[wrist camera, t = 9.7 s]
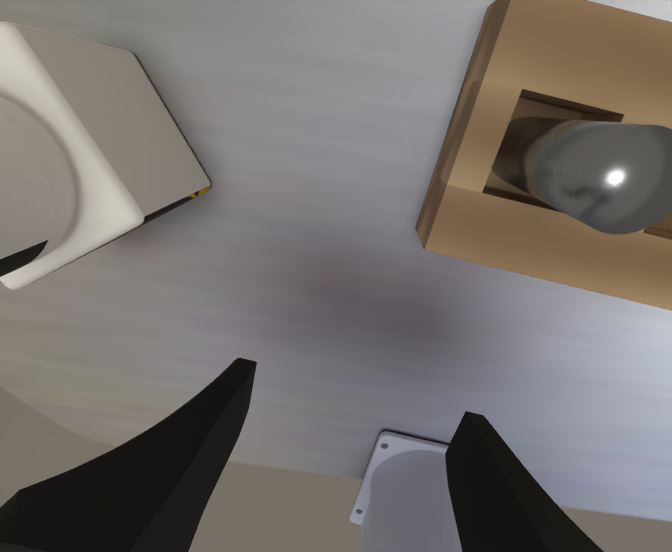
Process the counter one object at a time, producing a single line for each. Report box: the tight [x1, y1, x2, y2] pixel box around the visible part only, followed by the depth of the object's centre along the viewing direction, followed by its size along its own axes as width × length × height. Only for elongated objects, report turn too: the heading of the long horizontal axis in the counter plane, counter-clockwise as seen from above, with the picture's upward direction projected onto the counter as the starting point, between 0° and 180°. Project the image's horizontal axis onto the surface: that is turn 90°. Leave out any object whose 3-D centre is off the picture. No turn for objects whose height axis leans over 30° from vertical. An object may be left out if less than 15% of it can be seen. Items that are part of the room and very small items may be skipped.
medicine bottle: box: [0, 21, 211, 289], centre depth 14 cm, size 7×7×12 cm
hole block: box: [416, 0, 672, 310], centre depth 17 cm, size 10×14×4 cm
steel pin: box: [492, 117, 672, 235], centre depth 14 cm, size 3×3×8 cm
